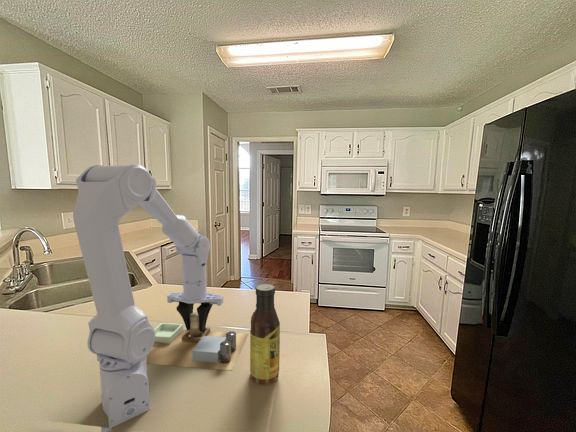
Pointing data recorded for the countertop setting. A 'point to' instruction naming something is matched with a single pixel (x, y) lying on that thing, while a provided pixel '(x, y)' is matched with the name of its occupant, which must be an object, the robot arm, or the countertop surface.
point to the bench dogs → (227, 347)
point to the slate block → (208, 349)
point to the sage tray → (167, 332)
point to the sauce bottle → (264, 337)
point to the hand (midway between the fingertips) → (196, 328)
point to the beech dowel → (194, 325)
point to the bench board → (182, 351)
